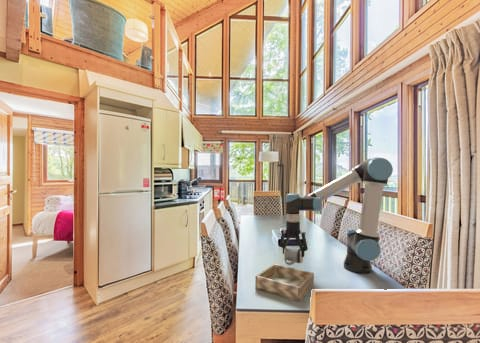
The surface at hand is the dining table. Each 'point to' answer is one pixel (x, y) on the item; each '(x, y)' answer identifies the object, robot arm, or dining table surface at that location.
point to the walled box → (285, 282)
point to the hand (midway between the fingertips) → (293, 261)
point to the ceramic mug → (292, 255)
